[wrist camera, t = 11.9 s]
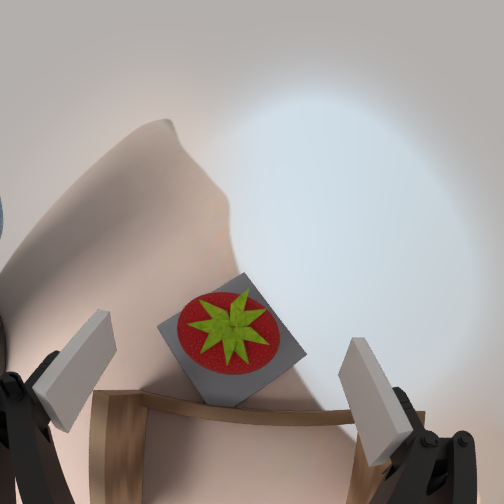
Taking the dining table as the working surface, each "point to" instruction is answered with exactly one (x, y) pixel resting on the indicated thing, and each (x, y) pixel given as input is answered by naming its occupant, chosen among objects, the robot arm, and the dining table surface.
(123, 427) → the wooden crossbar stand
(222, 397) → the pad
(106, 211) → the dining table surface
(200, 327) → the strawberry
